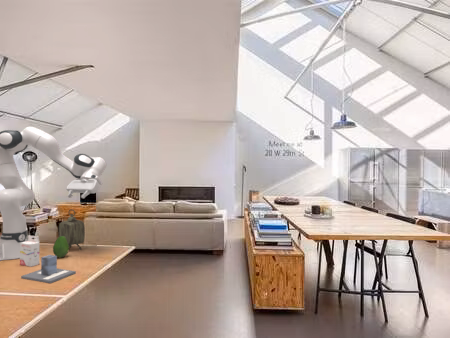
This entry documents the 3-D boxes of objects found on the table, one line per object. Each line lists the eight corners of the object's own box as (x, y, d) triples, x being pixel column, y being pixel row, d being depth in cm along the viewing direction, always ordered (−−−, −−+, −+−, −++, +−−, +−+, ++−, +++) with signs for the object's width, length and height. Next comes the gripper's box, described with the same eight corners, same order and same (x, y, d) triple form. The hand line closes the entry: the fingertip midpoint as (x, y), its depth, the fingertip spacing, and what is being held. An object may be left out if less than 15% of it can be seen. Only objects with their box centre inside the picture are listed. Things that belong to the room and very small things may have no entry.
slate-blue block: (41, 274, 145) (41, 257, 145) (49, 271, 149) (49, 254, 149) (48, 275, 143) (48, 258, 143) (56, 272, 147) (56, 255, 147)
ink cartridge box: (19, 265, 162) (19, 236, 162) (28, 262, 166) (28, 235, 166) (31, 266, 159) (31, 238, 159) (39, 264, 163) (40, 236, 163)
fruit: (69, 254, 181) (69, 234, 181) (67, 258, 174) (67, 237, 174) (54, 256, 179) (54, 235, 179) (51, 259, 171) (51, 238, 171)
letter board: (21, 278, 142) (21, 276, 142) (47, 269, 156) (47, 266, 156) (50, 283, 136) (50, 281, 136) (75, 273, 150) (75, 271, 150)
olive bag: (84, 249, 193) (84, 209, 193) (70, 252, 185) (71, 211, 185) (71, 246, 201) (71, 207, 201) (57, 249, 193) (57, 209, 193)
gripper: (72, 175, 185) (58, 193, 176) (99, 176, 178) (86, 194, 169) (77, 182, 189) (64, 200, 180) (105, 183, 182) (92, 201, 173)
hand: (75, 197), depth 174 cm, fingers open, 8 cm apart
